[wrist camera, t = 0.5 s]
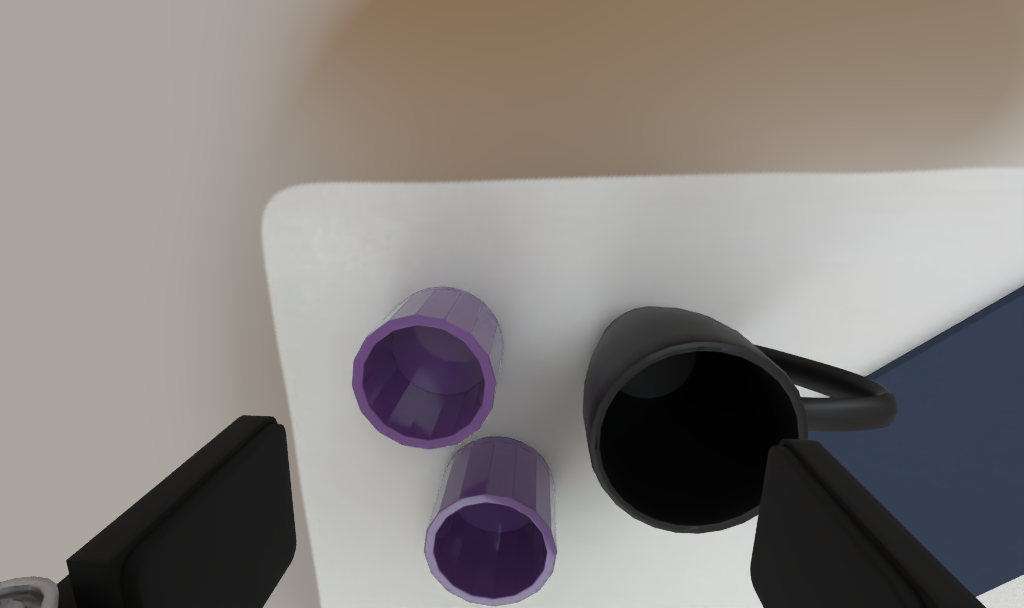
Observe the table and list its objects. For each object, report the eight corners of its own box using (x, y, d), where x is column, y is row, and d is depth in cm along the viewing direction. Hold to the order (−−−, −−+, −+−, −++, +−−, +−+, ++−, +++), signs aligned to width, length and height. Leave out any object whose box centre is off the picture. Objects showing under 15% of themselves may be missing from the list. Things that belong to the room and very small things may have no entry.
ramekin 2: (509, 416, 31) (502, 471, 25) (575, 498, 32) (582, 567, 26) (422, 473, 32) (398, 537, 26) (488, 549, 33) (478, 625, 28)
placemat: (1075, 255, 27) (1087, 257, 26) (1191, 484, 29) (1203, 490, 29) (725, 457, 30) (729, 462, 30) (857, 641, 33) (863, 649, 33)
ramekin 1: (454, 262, 28) (433, 287, 23) (526, 356, 30) (523, 400, 24) (362, 331, 30) (323, 368, 24) (435, 418, 31) (413, 472, 25)
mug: (793, 412, 30) (907, 525, 20) (578, 426, 30) (595, 540, 21) (799, 269, 27) (929, 323, 18) (568, 288, 28) (582, 349, 19)
